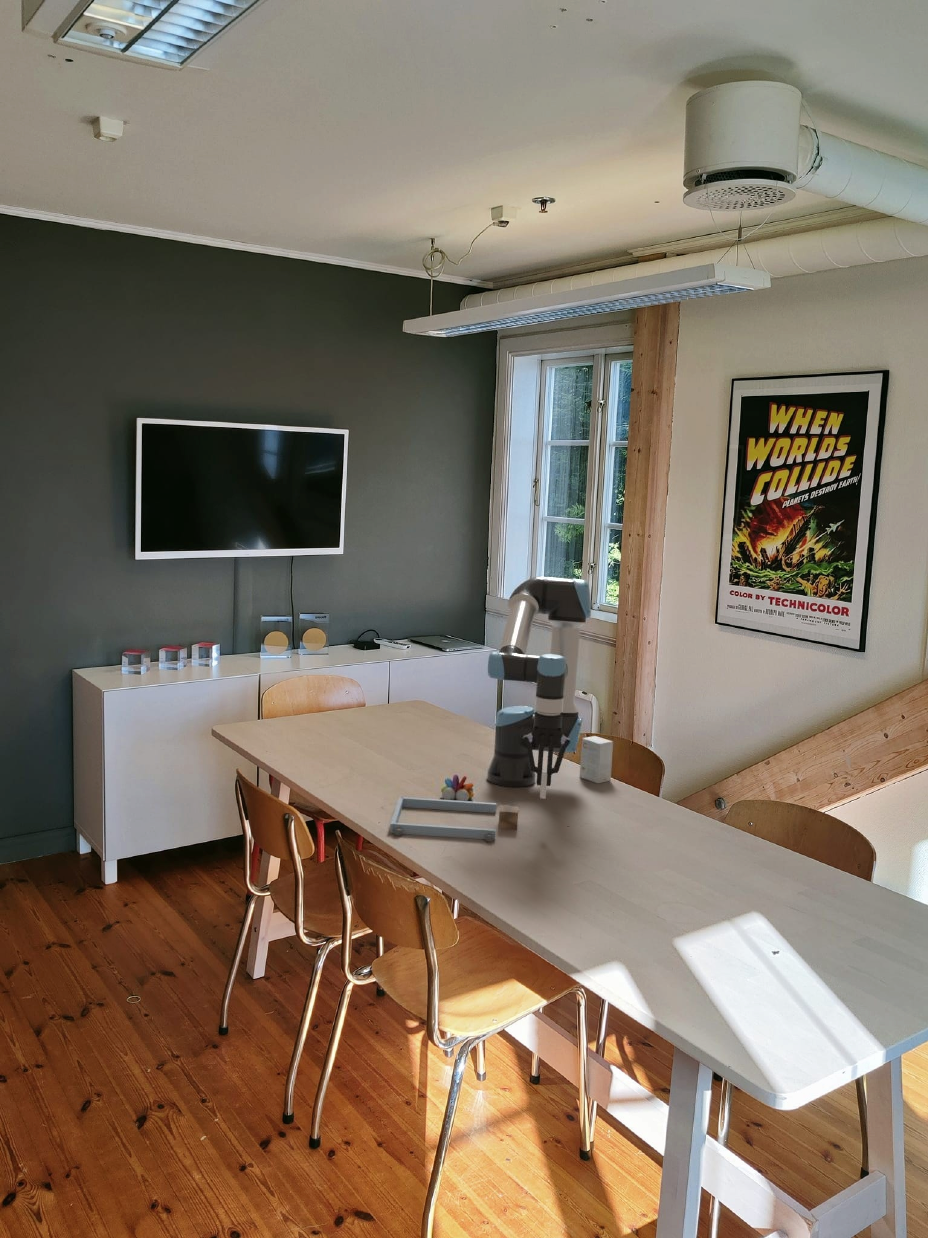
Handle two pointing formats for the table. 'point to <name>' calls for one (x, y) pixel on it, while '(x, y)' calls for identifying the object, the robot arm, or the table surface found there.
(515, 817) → the walnut block
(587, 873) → the table surface
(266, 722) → the table surface
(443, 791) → the rainbow segmented toy
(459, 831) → the cart frame
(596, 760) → the small box
